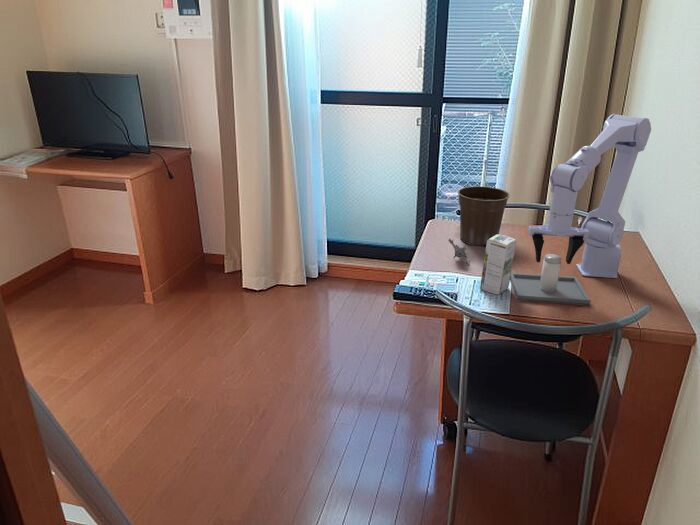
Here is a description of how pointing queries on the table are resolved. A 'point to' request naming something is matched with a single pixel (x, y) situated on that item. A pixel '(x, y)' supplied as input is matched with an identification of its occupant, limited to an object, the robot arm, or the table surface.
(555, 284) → the block
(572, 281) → the tray
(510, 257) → the syrup box
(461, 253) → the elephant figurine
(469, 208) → the plant pot
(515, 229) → the table surface
